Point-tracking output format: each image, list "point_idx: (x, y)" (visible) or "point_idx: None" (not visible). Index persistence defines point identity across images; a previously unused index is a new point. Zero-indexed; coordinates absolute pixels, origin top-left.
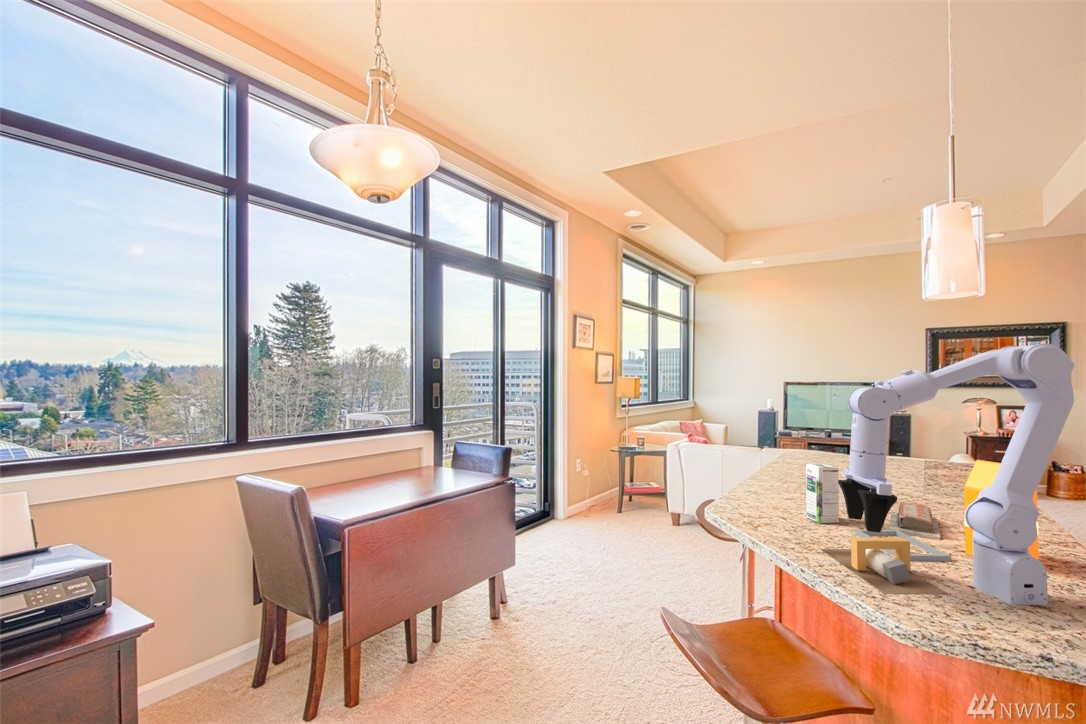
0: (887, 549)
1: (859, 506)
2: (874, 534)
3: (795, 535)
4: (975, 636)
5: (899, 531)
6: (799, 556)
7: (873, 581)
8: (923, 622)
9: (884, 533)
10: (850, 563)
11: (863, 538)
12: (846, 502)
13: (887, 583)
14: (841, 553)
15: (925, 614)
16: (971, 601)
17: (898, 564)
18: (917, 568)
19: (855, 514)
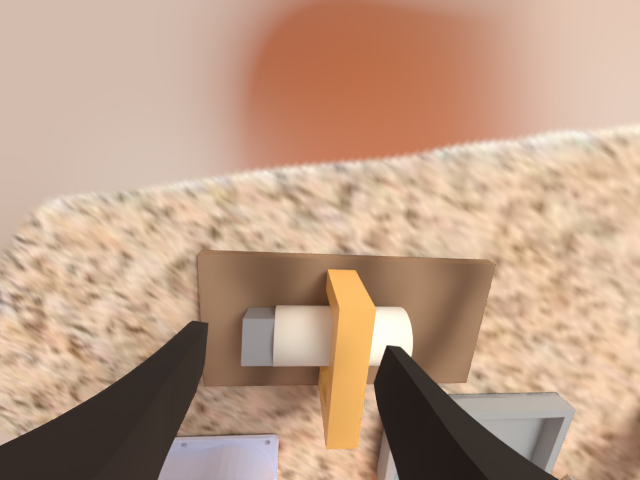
0: None
1: (397, 432)
2: (547, 436)
3: (622, 267)
4: (34, 318)
5: None
6: (481, 194)
7: (270, 272)
8: (84, 260)
9: (543, 456)
10: (387, 284)
11: (363, 342)
12: (433, 396)
13: (258, 297)
14: (455, 300)
15: (128, 289)
16: (205, 408)
17: (247, 349)
18: (370, 413)
19: (386, 381)
